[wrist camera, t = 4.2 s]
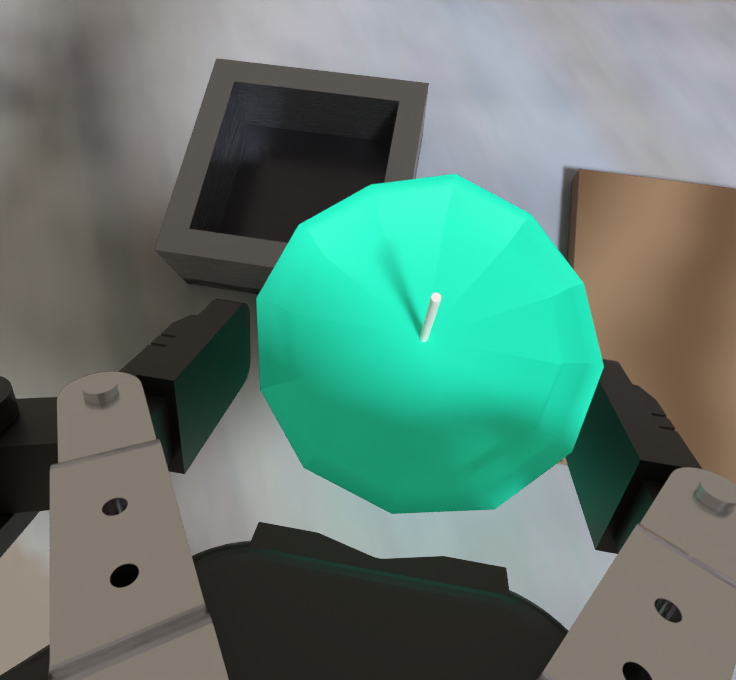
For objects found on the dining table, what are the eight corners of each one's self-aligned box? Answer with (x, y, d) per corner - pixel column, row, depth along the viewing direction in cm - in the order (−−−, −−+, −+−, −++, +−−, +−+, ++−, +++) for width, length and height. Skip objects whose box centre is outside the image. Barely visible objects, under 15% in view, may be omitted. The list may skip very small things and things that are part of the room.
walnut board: (815, 212, 20) (833, 201, 19) (844, 512, 17) (867, 514, 16) (572, 180, 21) (579, 168, 20) (554, 462, 17) (562, 462, 17)
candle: (341, 324, 19) (281, 91, 8) (491, 352, 19) (668, 149, 7) (305, 476, 18) (161, 471, 6) (468, 512, 17) (648, 580, 6)
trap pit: (422, 136, 22) (428, 83, 19) (392, 314, 19) (394, 285, 16) (237, 113, 22) (216, 58, 19) (187, 283, 20) (154, 249, 17)
